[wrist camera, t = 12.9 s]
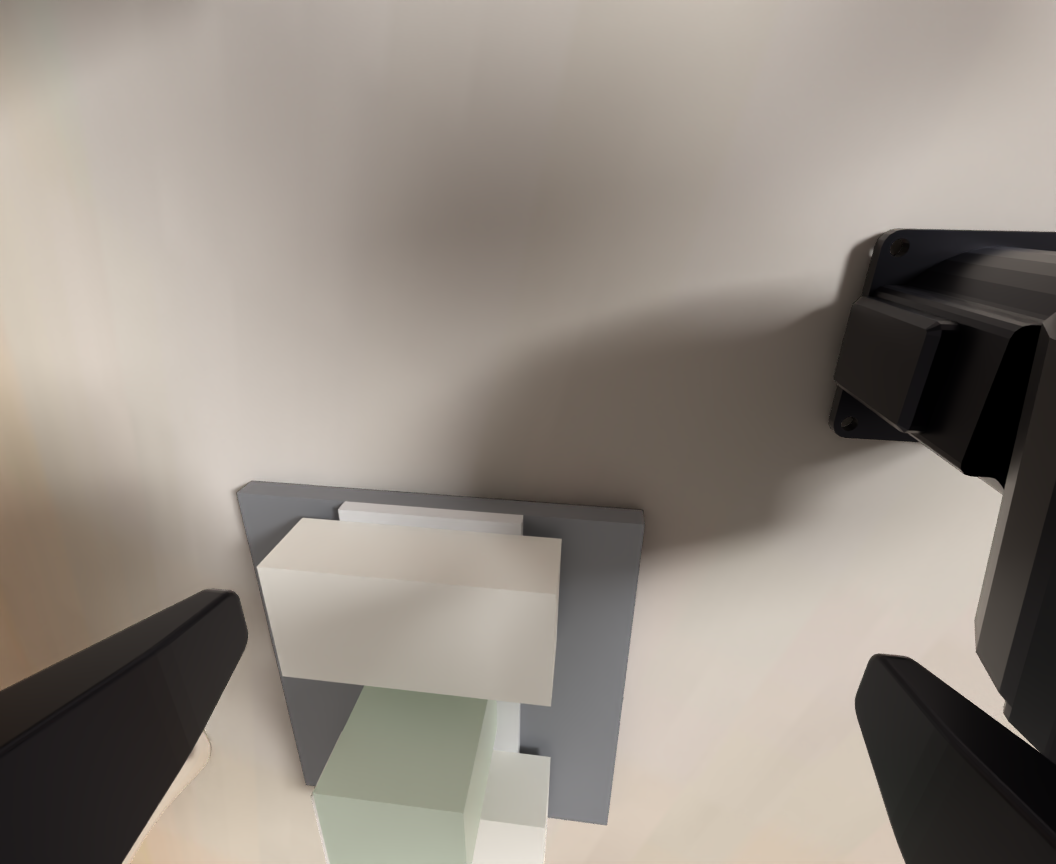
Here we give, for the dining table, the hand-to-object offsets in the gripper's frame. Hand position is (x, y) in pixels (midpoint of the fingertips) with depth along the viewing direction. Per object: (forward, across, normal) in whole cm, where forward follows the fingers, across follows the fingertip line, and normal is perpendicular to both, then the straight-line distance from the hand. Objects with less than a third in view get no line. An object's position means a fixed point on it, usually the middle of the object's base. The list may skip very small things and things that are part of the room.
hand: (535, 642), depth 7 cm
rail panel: (+12, +5, +14) cm, 19 cm away
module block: (+10, +5, +14) cm, 18 cm away
